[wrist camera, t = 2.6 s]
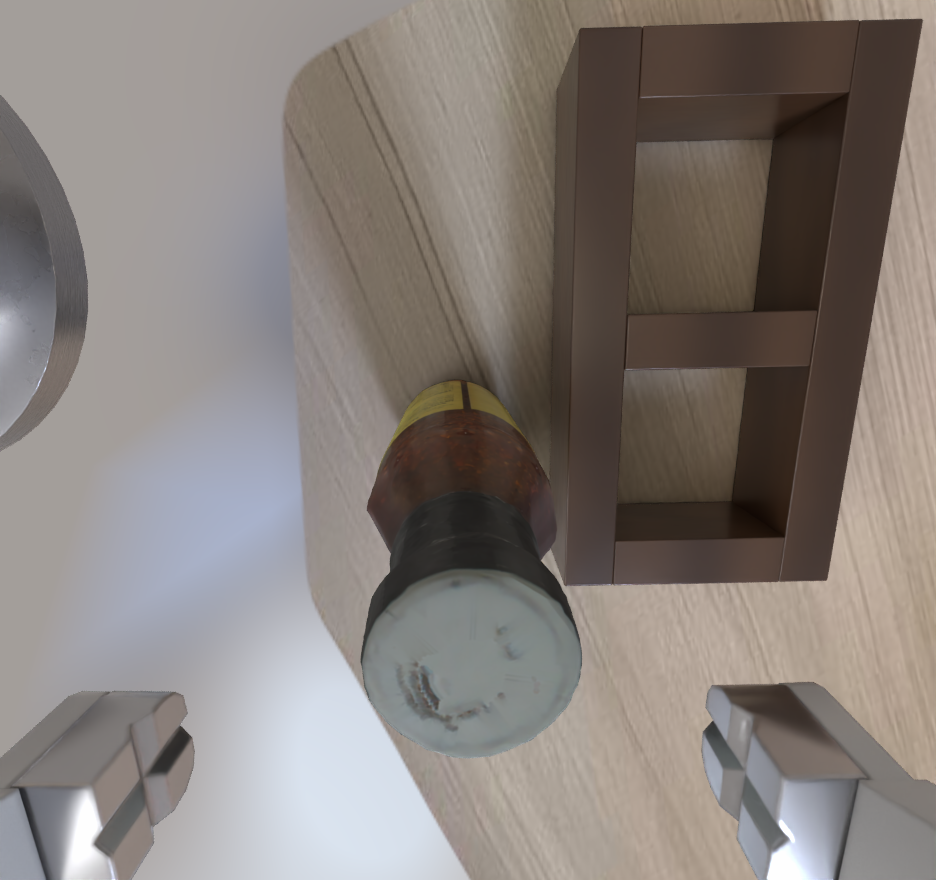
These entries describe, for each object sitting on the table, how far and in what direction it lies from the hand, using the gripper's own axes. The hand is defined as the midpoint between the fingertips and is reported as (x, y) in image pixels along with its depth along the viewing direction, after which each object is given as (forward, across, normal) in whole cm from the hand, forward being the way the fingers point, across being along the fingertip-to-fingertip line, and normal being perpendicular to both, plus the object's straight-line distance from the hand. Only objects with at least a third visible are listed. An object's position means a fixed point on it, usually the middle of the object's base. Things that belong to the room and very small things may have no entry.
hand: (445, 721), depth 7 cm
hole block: (+21, -12, -5) cm, 24 cm away
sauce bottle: (+21, 0, 0) cm, 21 cm away
